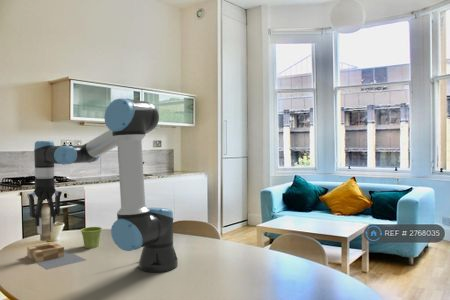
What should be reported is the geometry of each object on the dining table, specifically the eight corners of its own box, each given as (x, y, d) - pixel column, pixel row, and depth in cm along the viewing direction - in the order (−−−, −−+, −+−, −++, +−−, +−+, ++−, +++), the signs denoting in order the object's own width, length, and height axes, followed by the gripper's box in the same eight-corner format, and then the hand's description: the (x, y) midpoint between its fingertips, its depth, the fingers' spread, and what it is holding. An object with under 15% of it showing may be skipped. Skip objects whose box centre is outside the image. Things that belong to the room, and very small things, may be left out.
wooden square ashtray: (64, 256, 163) (64, 247, 162) (37, 262, 155) (36, 252, 155) (53, 251, 170) (53, 242, 170) (27, 256, 162) (27, 247, 162)
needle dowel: (52, 239, 162) (51, 202, 162) (42, 241, 159) (41, 204, 159) (48, 237, 165) (47, 201, 165) (38, 239, 162) (38, 202, 162)
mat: (86, 261, 158) (86, 260, 158) (46, 270, 146) (46, 269, 146) (62, 249, 174) (62, 248, 174) (24, 257, 163) (24, 256, 163)
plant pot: (98, 250, 173) (97, 231, 173) (77, 250, 174) (77, 231, 173) (105, 244, 183) (104, 226, 183) (85, 244, 183) (85, 226, 183)
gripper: (61, 175, 170) (61, 227, 171) (19, 178, 158) (20, 234, 159) (68, 176, 165) (69, 230, 166) (26, 179, 153) (27, 237, 154)
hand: (45, 232), depth 162 cm, fingers closed on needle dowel, 4 cm apart
